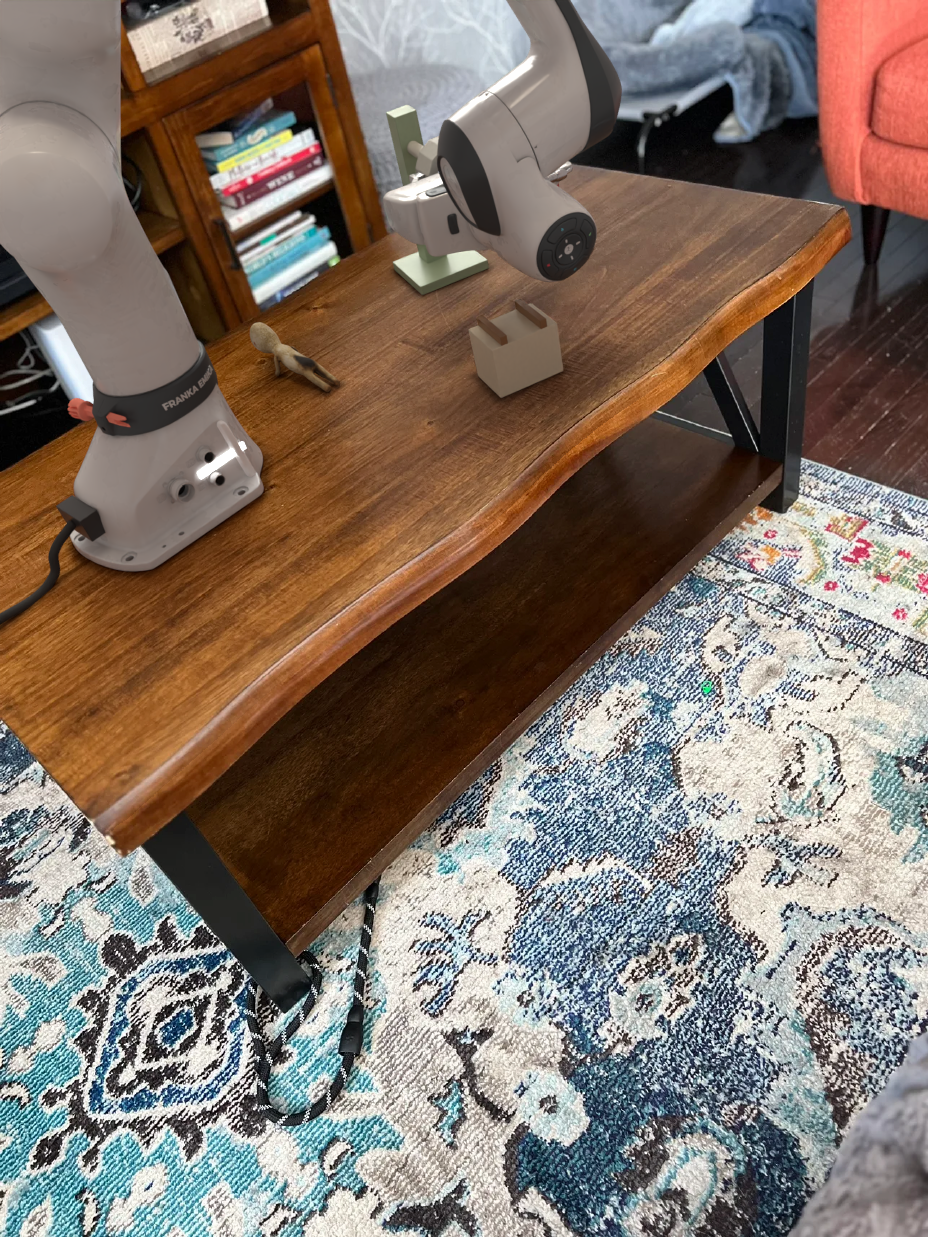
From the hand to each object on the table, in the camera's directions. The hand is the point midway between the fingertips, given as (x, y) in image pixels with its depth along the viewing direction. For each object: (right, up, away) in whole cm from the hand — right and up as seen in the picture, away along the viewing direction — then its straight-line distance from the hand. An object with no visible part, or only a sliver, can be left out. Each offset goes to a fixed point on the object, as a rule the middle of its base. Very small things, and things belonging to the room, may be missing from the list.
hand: (445, 168), depth 113 cm
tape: (0, 0, -1) cm, 1 cm away
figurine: (-18, -23, +5) cm, 30 cm away
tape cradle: (+9, -25, -5) cm, 27 cm away
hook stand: (0, -6, +17) cm, 18 cm away
